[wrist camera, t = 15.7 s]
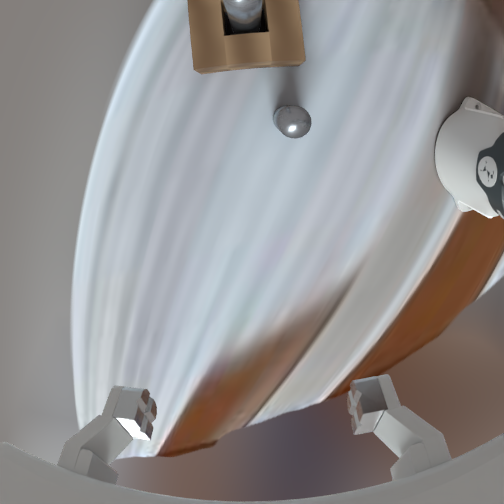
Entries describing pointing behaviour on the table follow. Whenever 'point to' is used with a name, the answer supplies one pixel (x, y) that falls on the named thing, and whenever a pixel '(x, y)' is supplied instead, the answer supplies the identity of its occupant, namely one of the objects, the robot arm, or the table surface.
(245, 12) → the long pin
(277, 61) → the hole block
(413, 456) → the robot arm
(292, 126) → the short pin
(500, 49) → the table surface
